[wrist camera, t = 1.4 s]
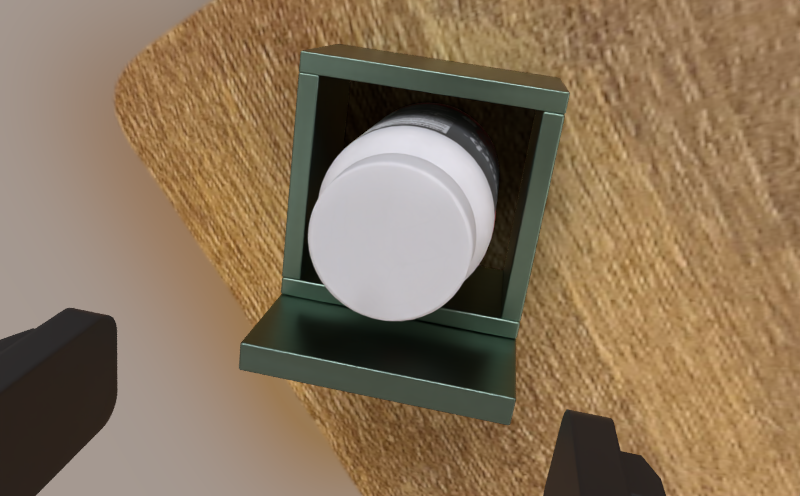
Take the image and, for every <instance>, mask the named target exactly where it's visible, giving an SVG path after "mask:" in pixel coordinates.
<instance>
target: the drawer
mask: <svg viewBox="0 0 800 496" xmlns="http://www.w3.org/2000/svg"><path fill="white" fill-rule="evenodd" d="M299 72H300V73H299V78H298V90H297V103H296V115H295V127H294V139H293V151H292V163H291V175H290V187H289V199H288V211H287V224H286V236H285V248H284V260H283V272H282V276H283V278H282V287H281V293H282V294H281V295H280V297H279V298H278V299H277V300H276V301H275V303H274V304H273V305H272V306H271V307H270V309H269V310H268V311H267V312H266V313H265V315H264V316H263V317H262V318H261V319H260V321H259V322H258V323H257V324H256V325H255V327H254V328H253V329H252V330H251V331H250V333H249V334H248V335H247V336H246V337H245V339H244V340H243V341H242V342H241V345H240V361H239V369H240V370H244V371H249V372H254V373H259V374H263V375H268V376H273V377H278V378H283V379H288V380H292V381H297V382H302V383H307V384H312V385H317V386H321V387H326V388H331V389H336V390H341V391H346V392H350V393H355V394H360V395H365V396H370V397H374V398H379V399H384V400H389V401H394V402H399V403H403V404H408V405H413V406H418V407H423V408H428V409H432V410H437V411H442V412H447V413H452V414H456V415H461V416H466V417H471V418H476V419H481V420H485V421H490V422H495V423H500V424H505V425H510V423H511V419H512V415H513V410H514V406H515V401H516V338H517V334H518V330H519V325H520V320H521V316H522V311H523V307H524V302H525V298H526V293H527V288H528V284H529V279H530V275H531V270H532V265H533V261H534V256H535V251H536V247H537V242H538V238H539V233H540V228H541V224H542V219H543V215H544V210H545V205H546V201H547V196H548V192H549V187H550V182H551V178H552V173H553V168H554V164H555V159H556V155H557V150H558V145H559V141H560V136H561V132H562V127H563V122H564V118H565V115H564V114H565V113H566V109H567V104H568V100H569V95H570V93H569V91H568V90H567V88H566V86H565V85H564V83H563V82H562V80H561V79H560V78H557V77H550V76H544V75H537V74H531V73H524V72H518V71H511V70H505V69H498V68H492V67H485V66H479V65H472V64H466V63H459V62H453V61H446V60H440V59H433V58H427V57H420V56H414V55H407V54H401V53H394V52H388V51H381V50H374V49H368V48H361V47H355V46H348V45H342V44H335V45H330V46H325V47H319V48H314V49H309V50H303V51H301V54H300V66H299ZM351 80H352V81H358V82H364V83H371V84H377V85H383V86H389V87H396V88H402V89H408V90H415V91H421V92H427V93H433V94H440V95H446V96H452V97H459V98H465V99H471V100H478V101H484V102H490V103H496V104H503V105H509V106H515V107H522V108H528V109H534V110H535V115H534V120H533V125H532V130H531V135H530V140H529V145H528V150H527V155H526V160H525V165H524V170H523V175H522V180H521V185H520V189H519V194H518V199H517V204H516V209H515V214H514V219H513V224H512V229H511V234H510V239H509V244H508V249H507V254H506V259H505V264H504V269H503V270H498V269H493V268H487V267H482V266H477V268H476V269H475V270H474V272H473V273H472V274H471V275H470V276H469V277H468V278H467V279H466V280H464V282H463V284H462V285H461V287H460V288H459V290H458V291H457V292H456V294H455V295H454V296H453V297H452V298H451V299H450V300H449V301H448V302H447V303H445V304H444V305H443V306H442V307H440V308H439V309H437V310H435V311H434V312H432V313H429V314H427V315H425V316H422V317H419V318H416V319H412V320H405V321H385V320H378V319H373V318H370V317H367V316H364V315H362V314H359V313H357V312H355V311H353V310H352V309H350V308H348V307H347V306H345V305H344V304H342V303H341V302H340V301H339V300H338V299H337V298H335V297H334V296H333V295H332V294H331V293H330V292H329V290H328V289H327V288H326V287H325V285H324V284H323V283H322V281H321V280H320V278H319V276H318V274H317V272H316V270H315V268H314V265H313V263H312V260H311V256H310V252H309V244H308V230H309V222H310V218H311V214H312V211H313V209H314V206H315V204H316V202H317V200H318V198H319V192H320V188H321V185H322V182H323V180H324V177H325V175H326V173H327V171H328V169H329V168H330V166H331V165H332V163H333V162H334V160H335V159H336V158H337V156H338V155H339V154H340V153H341V152H342V151H343V146H344V137H345V128H346V119H347V109H348V100H349V91H350V82H351Z"/></svg>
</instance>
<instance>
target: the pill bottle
mask: <svg viewBox="0 0 800 496" xmlns="http://www.w3.org/2000/svg"><path fill="white" fill-rule="evenodd" d="M499 181H500V170H499V162H498V157H497V153H496V150H495V147H494V145H493V143H492V141H491V139H490V137H489V136H488V134H487V133H486V131H485V130H484V129H483V128H482V127H481V125H480V124H479V123H478V122H477V121H475V120H474V119H473V118H472V117H470V116H469V115H468V114H466V113H464V112H463V111H461V110H459V109H457V108H454V107H452V106H449V105H445V104H440V103H417V104H412V105H408V106H405V107H402V108H400V109H398V110H395V111H393V112H392V113H390V114H388V115H387V116H386V117H384V118H383V119H382V120H381V121H379V122H378V123H377V124H375V125H374V126H373V127H371V128H370V129H369V130H367V131H366V132H365V133H364V134H362V135H361V136H360V137H358V138H357V139H356V140H354V141H353V142H352V143H351V144H349V145H348V146H347V147H346V148H345V149H344V150H343V151H342V152H341V153H340V154H339V155H338V156H337V158H336V159H335V160H334V162H333V163H332V165H331V166H330V168H329V169H328V171H327V173H326V175H325V177H324V180H323V182H322V185H321V188H320V192H319V198H318V200H317V202H316V204H315V206H314V209H313V211H312V214H311V218H310V222H309V230H308V244H309V252H310V256H311V260H312V263H313V265H314V268H315V270H316V272H317V274H318V276H319V278H320V280H321V281H322V283H323V284H324V285H325V287H326V288H327V289H328V290H329V292H330V293H331V294H332V295H333V296H334V297H335V298H337V299H338V300H339V301H340V302H341V303H342V304H344V305H345V306H347V307H348V308H350V309H352V310H353V311H355V312H357V313H359V314H362V315H364V316H367V317H370V318H373V319H378V320H385V321H405V320H412V319H416V318H419V317H422V316H425V315H427V314H429V313H432V312H434V311H435V310H437V309H439V308H440V307H442V306H443V305H444V304H445V303H447V302H448V301H449V300H450V299H451V298H452V297H453V296H454V295H455V294H456V292H457V291H458V290H459V288H460V287H461V285H462V284H463V282H464V280H466V279H467V278H468V277H469V276H470V275H471V274H472V273H473V272H474V270H475V269H476V268H477V266H478V265H479V264H480V262H481V260H482V259H483V257H484V255H485V253H486V251H487V248H488V246H489V243H490V240H491V237H492V233H493V229H494V224H495V217H496V204H497V197H498V190H499Z"/></svg>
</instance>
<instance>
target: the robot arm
mask: <svg viewBox="0 0 800 496" xmlns="http://www.w3.org/2000/svg"><path fill="white" fill-rule="evenodd" d="M116 399H117V327H116V323H115V320H114V319H113V317H111V316H109V315H104V314H99V313H94V312H89V311H84V310H79V309H75V308H67V309H65V310H63V311H62V312H60V313H58V314H57V315H55V316H54V317H53V318H51V319H49V320H48V321H46V322H45V323H43V324H42V325H40V326H39V327H37V328H36V329H30V330H27V331H24V332H21V333H18V334H15V335H12V336H10V337H7V338H4V339H1V340H0V496H36V495H37V494H38V493H39V492H40V491H41V490H42V489H43V488H44V487H45V486H46V485H47V484H48V483H49V481H50V480H52V478H54V477H55V476H56V474H57V473H59V471H60V470H61V469H62V468H63V467H64V466H65V465H66V464H67V463H68V462H69V461H70V460H71V459H72V458H73V457H74V456H75V455H76V454H77V453H78V452H79V451H80V450H81V449H82V448H83V447H84V446H85V445H86V444H87V443H88V442H89V441H90V440H91V439H92V438H93V437H94V436H95V435H96V434H97V433H98V432H99V431H100V430H101V429H102V428H103V427H104V426H105V424H106V423H107V421H108V420H109V418H110V416H111V414H112V412H113V409H114V406H115V403H116ZM543 496H666V494H665V491H664V488H663V484H662V481H661V478H660V477H659V476H658V475H657V474H656V473H655V471H654V470H653V469H652V468H651V467H650V465H649V464H648V463H647V462H646V461H645V459H644V458H643V457H642V456H641V455H636V454H632V453H627V452H622V451H620V447H619V443H618V438H617V434H616V430H615V426H614V422H613V420H612V419H611V418H607V417H602V416H598V415H593V414H588V413H583V412H578V411H573V410H566V411H565V413H564V416H563V419H562V422H561V426H560V430H559V434H558V438H557V441H556V445H555V449H554V453H553V457H552V461H551V465H550V469H549V473H548V477H547V481H546V485H545V490H544V495H543Z"/></svg>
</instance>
